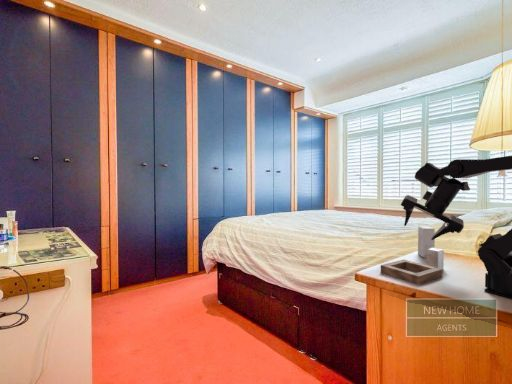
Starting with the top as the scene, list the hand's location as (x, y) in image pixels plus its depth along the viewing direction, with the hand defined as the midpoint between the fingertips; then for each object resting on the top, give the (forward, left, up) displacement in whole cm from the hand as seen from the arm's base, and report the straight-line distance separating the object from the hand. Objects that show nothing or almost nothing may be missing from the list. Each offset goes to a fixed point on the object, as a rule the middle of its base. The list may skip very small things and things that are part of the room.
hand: (417, 232), depth 95 cm
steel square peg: (-3, -6, -13) cm, 15 cm away
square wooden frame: (-2, +7, -13) cm, 15 cm away
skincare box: (+8, -20, -13) cm, 26 cm away
